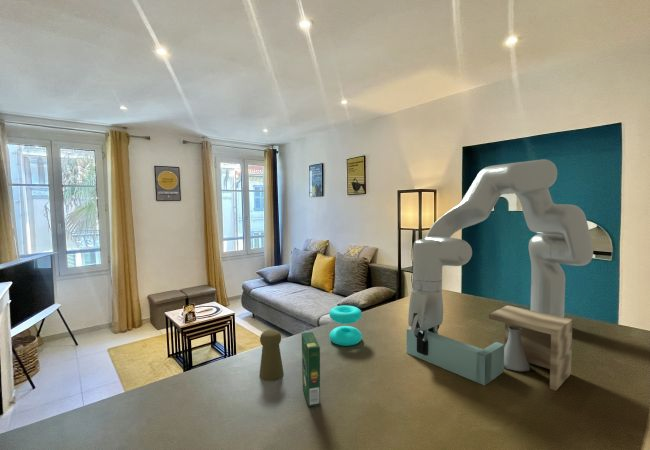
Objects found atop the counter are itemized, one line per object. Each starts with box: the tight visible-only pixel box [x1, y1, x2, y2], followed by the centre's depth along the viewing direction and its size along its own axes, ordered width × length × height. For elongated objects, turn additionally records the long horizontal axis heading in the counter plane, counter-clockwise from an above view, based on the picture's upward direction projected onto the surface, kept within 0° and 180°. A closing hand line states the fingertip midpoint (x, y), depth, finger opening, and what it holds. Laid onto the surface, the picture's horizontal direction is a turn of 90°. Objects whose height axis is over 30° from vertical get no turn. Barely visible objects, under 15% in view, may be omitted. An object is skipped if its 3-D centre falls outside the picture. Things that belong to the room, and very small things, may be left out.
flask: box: [504, 326, 531, 372], centre depth 84 cm, size 7×7×10 cm
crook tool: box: [406, 326, 505, 386], centre depth 86 cm, size 10×22×7 cm, turn 39°
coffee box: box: [301, 331, 321, 408], centre depth 71 cm, size 8×3×13 cm, turn 13°
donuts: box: [329, 304, 363, 347], centre depth 101 cm, size 10×10×10 cm
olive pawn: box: [258, 329, 284, 382], centre depth 81 cm, size 6×6×11 cm
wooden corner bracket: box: [488, 304, 573, 392], centre depth 82 cm, size 11×15×14 cm
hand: (426, 350), depth 89 cm, fingers closed on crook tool, 3 cm apart
